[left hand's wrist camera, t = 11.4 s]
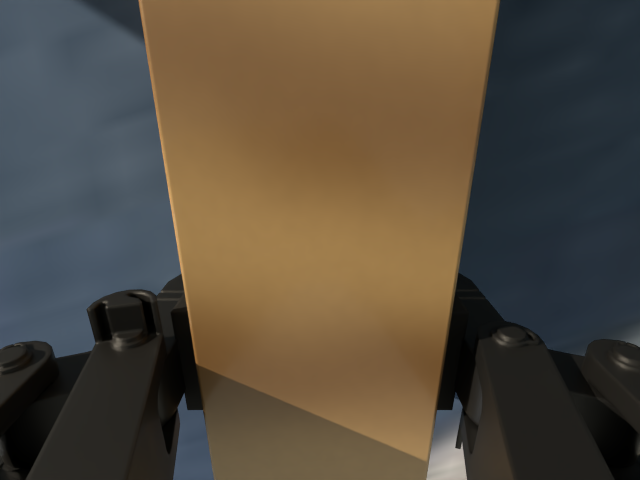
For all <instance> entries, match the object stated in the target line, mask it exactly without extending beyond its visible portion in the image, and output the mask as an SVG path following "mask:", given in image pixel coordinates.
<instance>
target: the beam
mask: <svg viewBox="0 0 640 480" xmlns="http://www.w3.org/2000/svg"><path fill="white" fill-rule="evenodd" d="M499 5H500V0H139V7H140V13H141V19H142V26H143V32H144V38H145V45H146V51H147V57H148V64H149V70H150V76H151V83H152V89H153V95H154V102H155V108H156V114H157V121H158V127H159V133H160V140H161V146H162V152H163V159H164V165H165V171H166V178H167V184H168V190H169V197H170V203H171V209H172V216H173V222H174V228H175V235H176V241H177V247H178V254H179V260H180V266H181V273H182V279H183V285H184V292H185V298H186V304H187V311H188V317H189V323H190V330H191V336H192V342H193V349H194V355H195V361H196V368H197V374H198V380H199V387H200V393H201V399H202V406H203V412H204V418H205V425H206V431H207V437H208V444H209V450H210V456H211V463H212V469H213V475H214V480H426V477H427V471H428V464H429V458H430V451H431V445H432V439H433V432H434V426H435V419H436V413H437V406H438V400H439V393H440V387H441V380H442V374H443V367H444V361H445V354H446V348H447V341H448V335H449V329H450V322H451V316H452V309H453V303H454V296H455V290H456V283H457V277H458V270H459V264H460V257H461V251H462V244H463V238H464V231H465V225H466V219H467V212H468V206H469V199H470V193H471V186H472V180H473V173H474V167H475V160H476V154H477V147H478V141H479V134H480V128H481V121H482V115H483V109H484V102H485V96H486V89H487V83H488V76H489V70H490V63H491V57H492V50H493V44H494V37H495V31H496V24H497V18H498V11H499Z"/></svg>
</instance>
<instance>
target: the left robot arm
mask: <svg viewBox="0 0 640 480" xmlns="http://www.w3.org/2000/svg"><path fill="white" fill-rule="evenodd" d="M87 313H88V316H89V320H90V324H91V327H92V331H93V335H94V338H95V342H96V344H95V346H94V348H93V350H92V351H89V352H85V353H80V354H75V355H69V356H64V357H59V358H55V355H54V352H53V349H52V346H50V345H49V344H48V343H46V342H41V341H30V342H20V343H15V344H14V345H13V344H12V345H9V346H6V347H4V348H2V349H0V480H173V475H174V467H175V459H176V452H177V444H178V436H179V428H180V420H179V414H178V408H177V407H178V405H179V403H180V401H181V399H182V396H183V394H184V393H185V398H186V404H187V410H203V406H202V399H201V393H200V387H199V380H198V374H197V368H196V361H195V355H194V349H193V342H192V336H191V330H190V323H189V317H188V311H187V304H186V298H185V292H184V285H183V279H182V274H180V275H179V276H177V277H176V278H174V279H172V280H171V281H169V282H168V283H167V284H166V285H165V287H164V288H163V289H162V290H161V293H159V294H158V295H157V296H156V295H155V294H154V293H152V292H151V291H146V290H142V289H141V290H126V291H121V292H116V293H113V294H110V295H107V296H105V297H103V298H101V299H99V300H97V301H95V302H94V303H93V304H92V305H91V306H90V307H88V308H87ZM455 391H456V393H457V395H458V397H459V399H460V402H461V404H462V406H463V408H462V414H461V419H460V424H459V429H458V435H457V440H456V447H455V448H458V449H461V444H462V443H463V451H464V459H465V466H466V474H467V480H640V347H638V346H637V345H634V344H631V343H628V342H627V343H626V342H624V341H619V340H608V339H601V340H594V341H593V342H591V343H590V344H589V345H588V348H587V351H586V354H585V357H584V356H579V355H574V354H569V353H564V352H559V351H554V350H550V349H547V347H546V345H545V343H544V342H543V341H542V339H541V338H540V337H539V336H538V335H537V334H535V333H534V332H532V331H531V330H529V329H528V328H525V327H523V326H520V325H518V324H515V323H511V322H506V321H504V319H503V318H502V317H501V316H500V315H499V313H498V312H497V311H496V310H495V309H494V307H493V306H492V305H491V304H490V302H489V301H488V300H487V299H485V296H484V295H483V294H482V293H481V292H479V289H478V288H477V287H476V285H475V284H474V283H473V282H472V281H471V280H470V279H468V278H466V277H465V276H463V275H461V274H460V273H458V277H457V283H456V290H455V296H454V303H453V309H452V316H451V322H450V329H449V335H448V341H447V348H446V354H445V361H444V367H443V374H442V380H441V387H440V393H439V400H438V406H437V410H452V408H453V402H454V397H455Z"/></svg>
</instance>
